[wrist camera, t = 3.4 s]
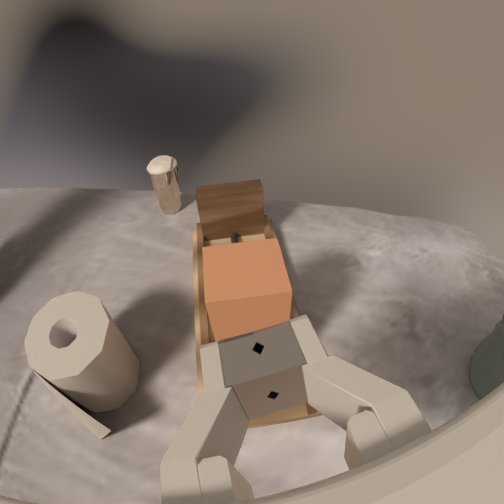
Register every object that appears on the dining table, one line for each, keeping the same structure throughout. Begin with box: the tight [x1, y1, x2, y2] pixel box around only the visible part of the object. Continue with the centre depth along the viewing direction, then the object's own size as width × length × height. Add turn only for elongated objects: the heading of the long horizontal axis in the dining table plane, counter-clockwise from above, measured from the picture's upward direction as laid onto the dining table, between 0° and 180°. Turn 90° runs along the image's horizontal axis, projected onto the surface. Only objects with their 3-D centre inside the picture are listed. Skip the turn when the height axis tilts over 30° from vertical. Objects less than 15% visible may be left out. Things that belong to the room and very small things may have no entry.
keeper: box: [202, 238, 292, 341], centre depth 25 cm, size 5×6×12 cm
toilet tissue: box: [24, 291, 141, 439], centre depth 25 cm, size 9×13×9 cm
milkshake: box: [147, 155, 182, 214], centre depth 45 cm, size 4×5×10 cm
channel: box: [193, 180, 322, 428], centre depth 32 cm, size 27×11×8 cm, turn 8°
